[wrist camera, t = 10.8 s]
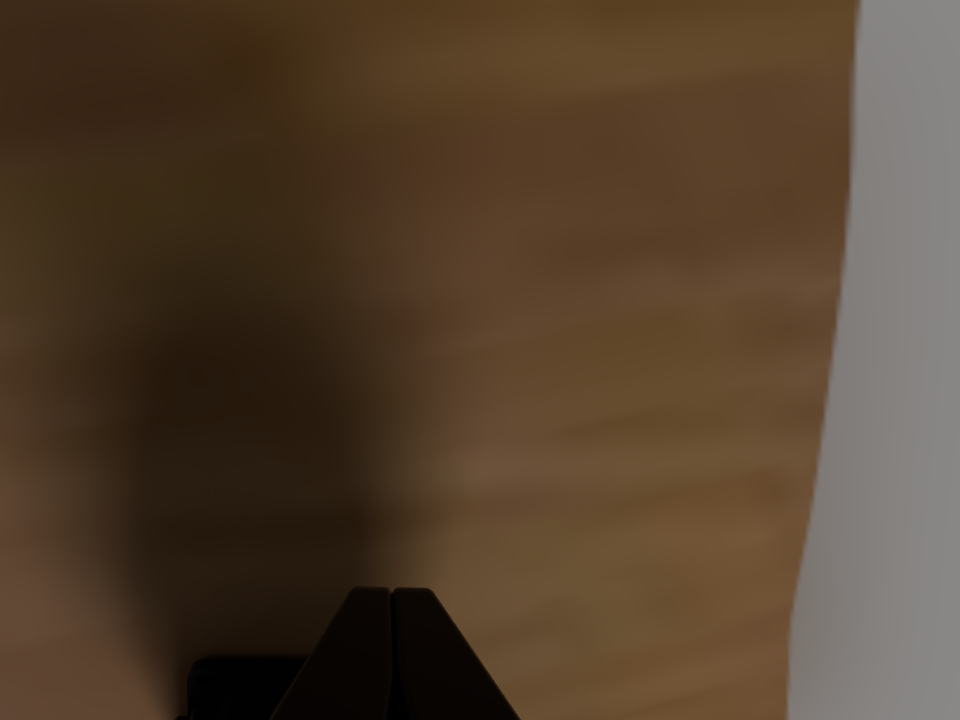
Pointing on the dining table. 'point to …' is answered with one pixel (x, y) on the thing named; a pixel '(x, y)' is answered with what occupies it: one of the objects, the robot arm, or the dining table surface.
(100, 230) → the dining table surface
